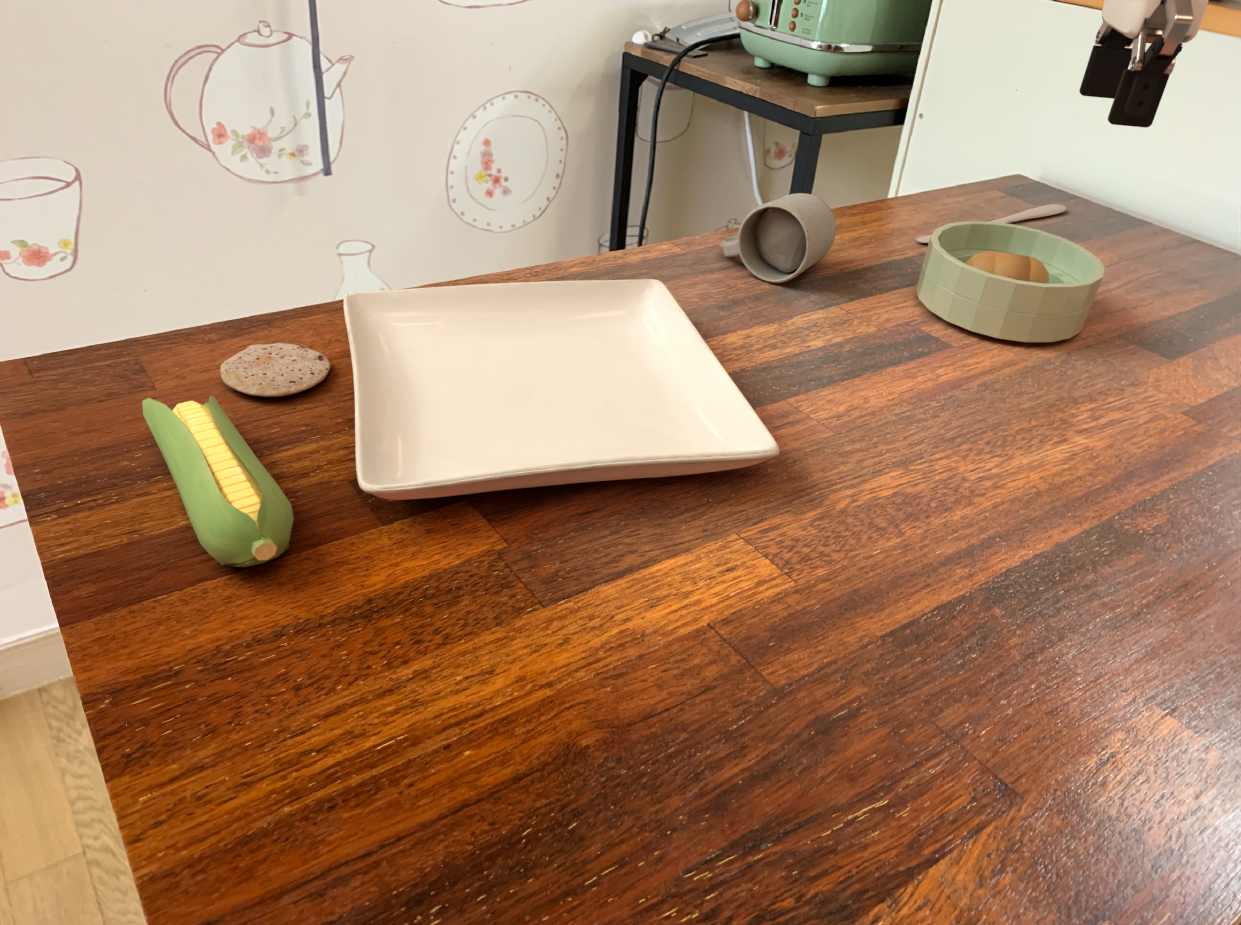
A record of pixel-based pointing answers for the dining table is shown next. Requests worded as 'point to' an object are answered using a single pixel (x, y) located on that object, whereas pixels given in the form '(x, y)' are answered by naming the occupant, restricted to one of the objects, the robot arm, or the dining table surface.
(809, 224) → the ceramic mug
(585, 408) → the square plate
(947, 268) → the bowl
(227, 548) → the edible corn
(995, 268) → the tan rounded oval piece
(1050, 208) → the butter knife
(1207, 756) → the dining table surface
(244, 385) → the flatbread
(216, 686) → the dining table surface
